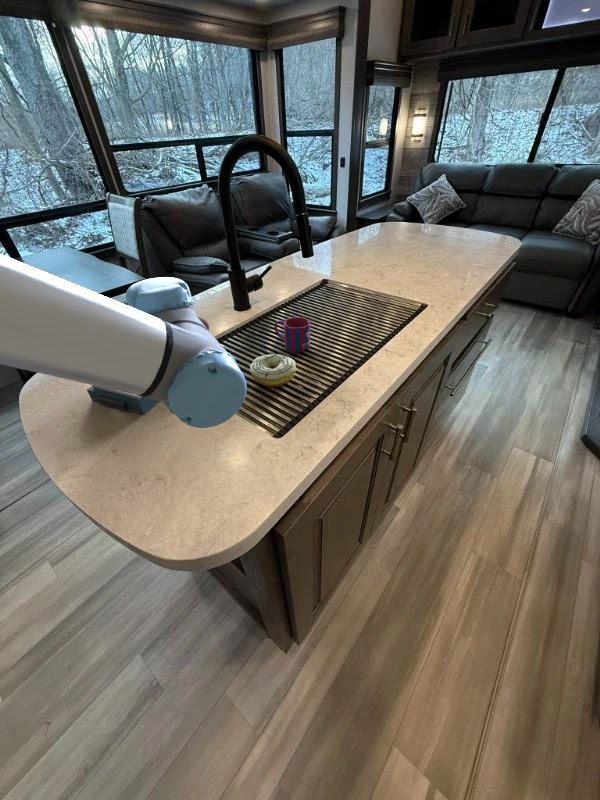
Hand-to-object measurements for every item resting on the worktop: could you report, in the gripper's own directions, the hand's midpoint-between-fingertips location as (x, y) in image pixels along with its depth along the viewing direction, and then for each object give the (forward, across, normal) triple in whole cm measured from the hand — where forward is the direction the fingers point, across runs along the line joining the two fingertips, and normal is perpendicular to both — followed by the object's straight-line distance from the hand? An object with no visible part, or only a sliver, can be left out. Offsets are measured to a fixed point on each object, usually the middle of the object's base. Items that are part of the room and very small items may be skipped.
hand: (107, 320), depth 69 cm
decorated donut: (-22, +25, -15) cm, 37 cm away
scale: (-5, 0, -15) cm, 16 cm away
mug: (-14, +38, -15) cm, 43 cm away
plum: (+7, +21, -15) cm, 27 cm away
